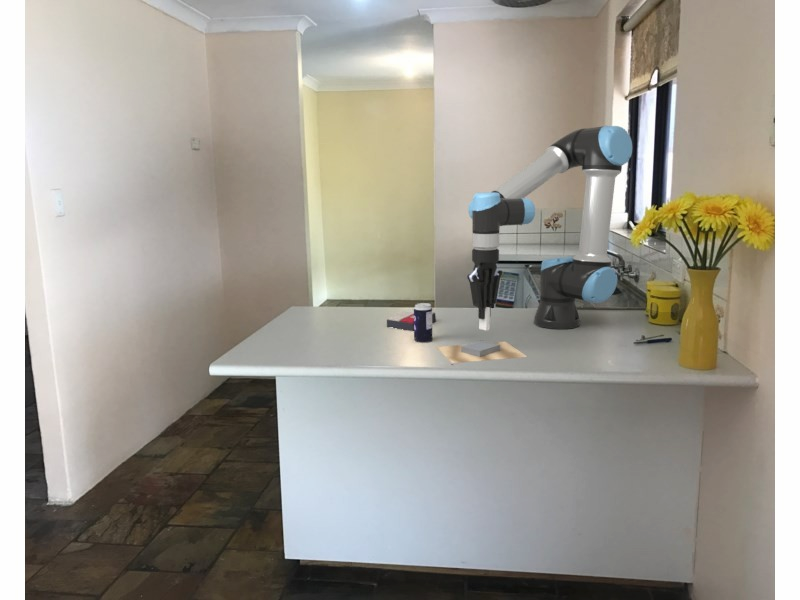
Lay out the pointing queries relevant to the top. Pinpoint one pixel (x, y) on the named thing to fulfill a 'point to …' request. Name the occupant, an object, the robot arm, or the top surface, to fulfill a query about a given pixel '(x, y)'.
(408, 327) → the calculator
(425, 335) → the beverage can
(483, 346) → the slate tile
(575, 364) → the top surface
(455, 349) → the cork mat
